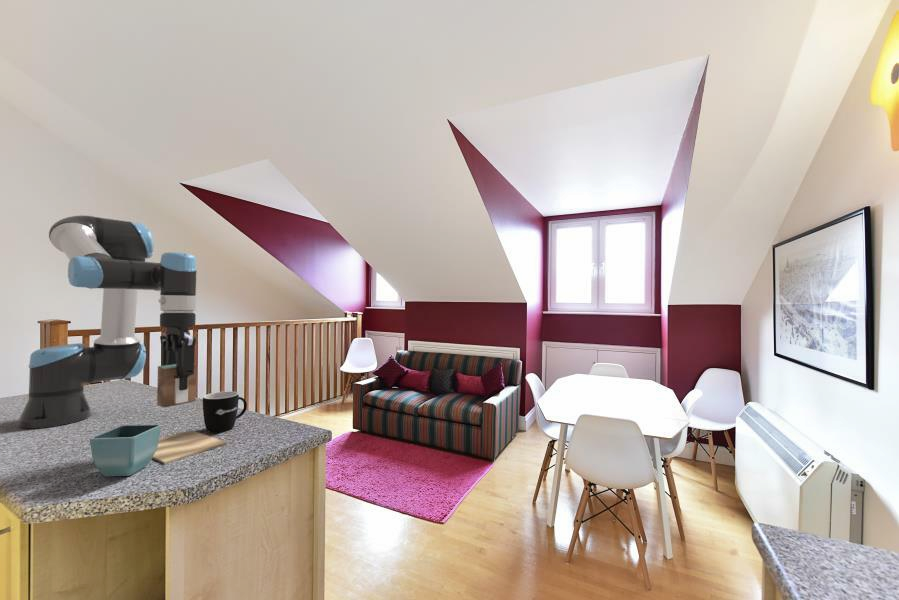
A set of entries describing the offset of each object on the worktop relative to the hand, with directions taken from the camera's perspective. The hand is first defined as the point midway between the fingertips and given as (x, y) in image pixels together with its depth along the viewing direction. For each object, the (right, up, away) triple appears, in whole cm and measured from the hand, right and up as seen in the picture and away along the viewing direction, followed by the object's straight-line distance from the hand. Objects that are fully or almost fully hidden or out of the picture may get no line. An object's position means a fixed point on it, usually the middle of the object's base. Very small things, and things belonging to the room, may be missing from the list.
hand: (176, 401), depth 95 cm
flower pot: (+1, -11, -15) cm, 19 cm away
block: (0, -1, 0) cm, 1 cm away
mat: (+2, -11, -1) cm, 12 cm away
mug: (+5, -12, +13) cm, 18 cm away
